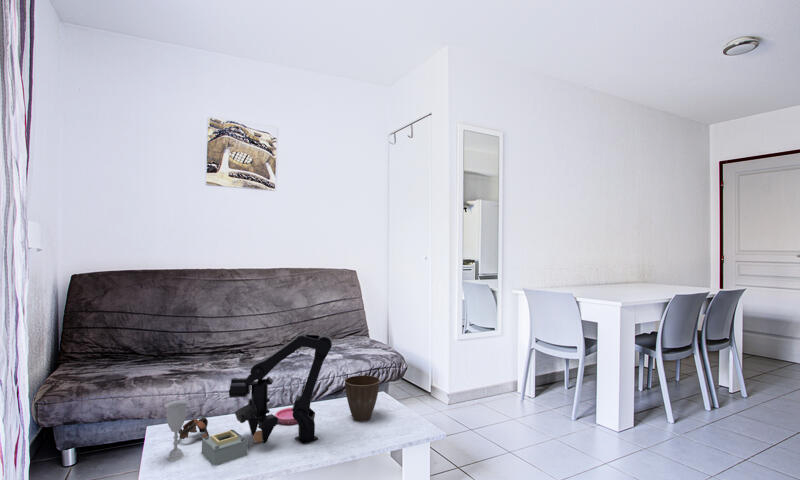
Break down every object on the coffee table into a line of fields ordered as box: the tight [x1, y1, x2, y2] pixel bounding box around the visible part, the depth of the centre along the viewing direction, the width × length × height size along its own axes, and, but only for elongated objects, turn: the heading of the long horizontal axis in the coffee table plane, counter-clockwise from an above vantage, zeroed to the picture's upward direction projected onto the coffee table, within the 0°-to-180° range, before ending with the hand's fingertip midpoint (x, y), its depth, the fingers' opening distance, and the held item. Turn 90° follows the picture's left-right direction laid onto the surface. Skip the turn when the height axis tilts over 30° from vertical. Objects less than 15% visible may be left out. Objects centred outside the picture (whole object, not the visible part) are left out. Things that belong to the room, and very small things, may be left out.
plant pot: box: [344, 374, 381, 422], centre depth 181 cm, size 15×15×16 cm
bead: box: [252, 430, 263, 443], centre depth 157 cm, size 4×4×4 cm
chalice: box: [164, 399, 189, 462], centre depth 146 cm, size 7×7×18 cm
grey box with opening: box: [201, 429, 248, 467], centre depth 148 cm, size 12×11×6 cm
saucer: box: [274, 407, 298, 425], centre depth 178 cm, size 12×12×3 cm
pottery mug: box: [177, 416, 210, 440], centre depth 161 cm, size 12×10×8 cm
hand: (258, 439), depth 157 cm, fingers open, 9 cm apart
